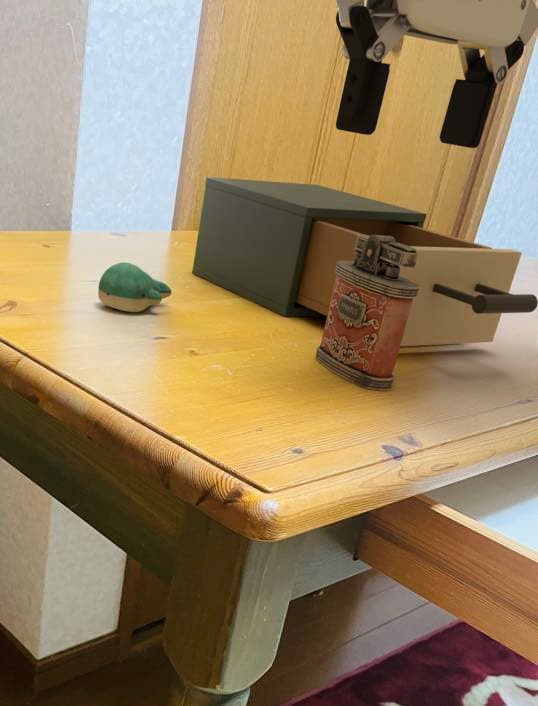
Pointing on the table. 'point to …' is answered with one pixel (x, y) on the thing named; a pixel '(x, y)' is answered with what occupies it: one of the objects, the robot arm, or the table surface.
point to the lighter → (369, 312)
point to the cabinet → (272, 235)
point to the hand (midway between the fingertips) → (407, 138)
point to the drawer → (422, 279)
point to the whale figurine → (130, 288)
